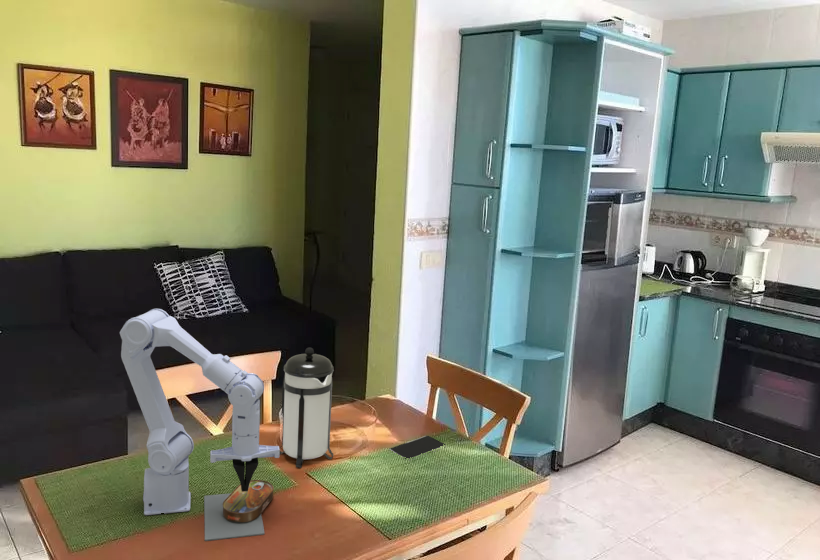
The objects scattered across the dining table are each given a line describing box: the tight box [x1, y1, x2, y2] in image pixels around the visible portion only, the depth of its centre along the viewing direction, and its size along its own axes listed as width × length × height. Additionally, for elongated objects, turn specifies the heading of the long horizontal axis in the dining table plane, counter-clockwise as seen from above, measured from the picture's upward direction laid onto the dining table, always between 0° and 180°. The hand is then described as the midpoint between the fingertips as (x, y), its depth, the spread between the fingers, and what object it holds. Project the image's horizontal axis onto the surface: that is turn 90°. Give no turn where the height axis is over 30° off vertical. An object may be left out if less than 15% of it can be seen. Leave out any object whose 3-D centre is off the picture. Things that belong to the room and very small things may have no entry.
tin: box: [223, 479, 275, 522], centre depth 147 cm, size 15×3×8 cm
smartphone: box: [388, 435, 446, 459], centre depth 183 cm, size 8×1×15 cm
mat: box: [203, 492, 265, 542], centre depth 144 cm, size 12×18×1 cm, turn 17°
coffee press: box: [279, 347, 335, 469], centre depth 173 cm, size 17×16×30 cm
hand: (244, 489), depth 144 cm, fingers closed
